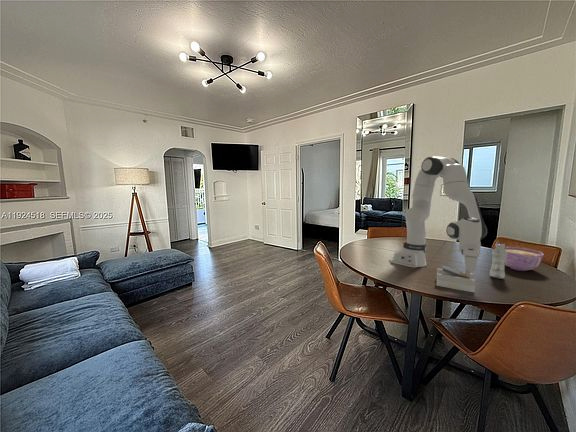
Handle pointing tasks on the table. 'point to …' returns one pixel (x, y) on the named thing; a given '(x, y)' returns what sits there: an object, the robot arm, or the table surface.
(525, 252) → the bowl of food
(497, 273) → the plastic bottle
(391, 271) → the table surface
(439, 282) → the box
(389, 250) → the table surface
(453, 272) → the gray and orange tool
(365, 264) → the table surface
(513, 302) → the table surface
